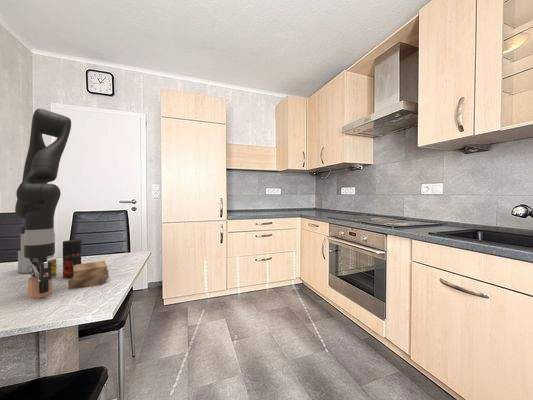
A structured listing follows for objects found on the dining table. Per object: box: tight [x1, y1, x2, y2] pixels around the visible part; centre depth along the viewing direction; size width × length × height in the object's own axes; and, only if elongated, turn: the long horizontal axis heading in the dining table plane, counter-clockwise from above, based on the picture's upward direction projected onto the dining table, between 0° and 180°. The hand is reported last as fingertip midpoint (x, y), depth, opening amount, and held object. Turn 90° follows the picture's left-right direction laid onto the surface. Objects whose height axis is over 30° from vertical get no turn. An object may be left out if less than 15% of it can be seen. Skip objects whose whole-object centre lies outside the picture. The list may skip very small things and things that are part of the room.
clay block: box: [27, 275, 53, 300], centre depth 78 cm, size 5×5×6 cm
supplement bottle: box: [47, 254, 57, 279], centre depth 95 cm, size 6×6×10 cm
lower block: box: [67, 269, 109, 290], centre depth 90 cm, size 10×10×4 cm
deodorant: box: [62, 239, 82, 280], centre depth 97 cm, size 6×6×15 cm
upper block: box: [73, 260, 108, 281], centre depth 90 cm, size 10×10×4 cm
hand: (40, 289), depth 78 cm, fingers open, 8 cm apart
